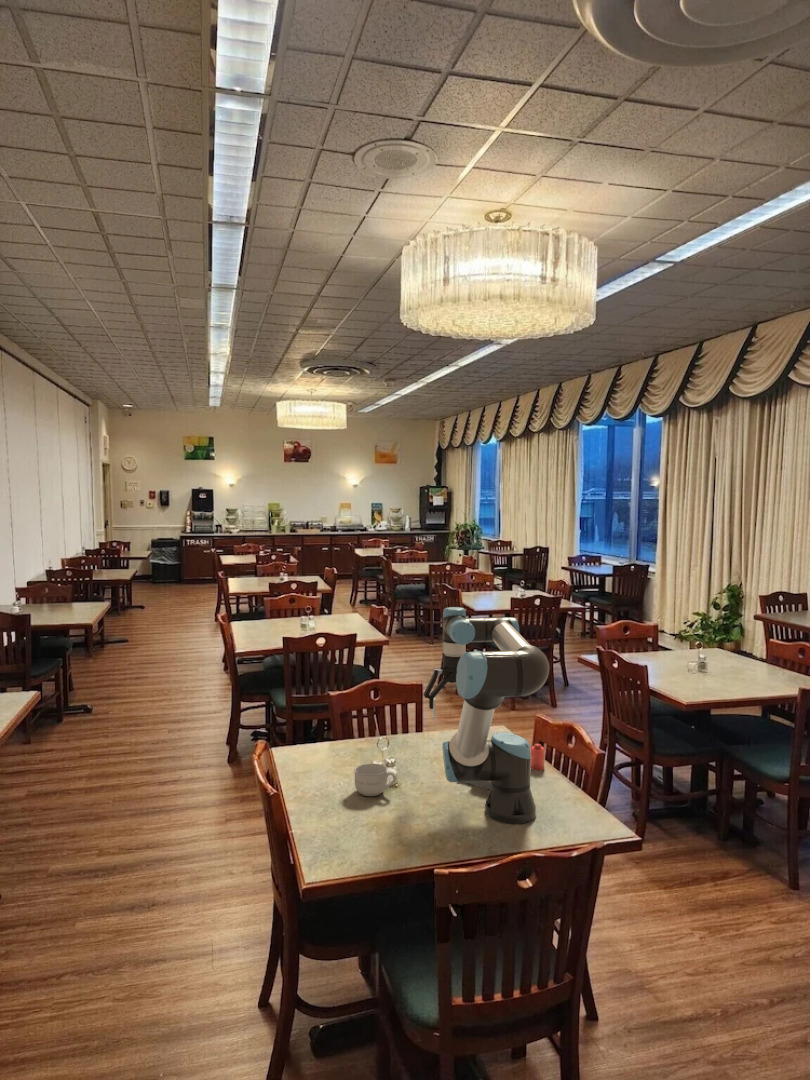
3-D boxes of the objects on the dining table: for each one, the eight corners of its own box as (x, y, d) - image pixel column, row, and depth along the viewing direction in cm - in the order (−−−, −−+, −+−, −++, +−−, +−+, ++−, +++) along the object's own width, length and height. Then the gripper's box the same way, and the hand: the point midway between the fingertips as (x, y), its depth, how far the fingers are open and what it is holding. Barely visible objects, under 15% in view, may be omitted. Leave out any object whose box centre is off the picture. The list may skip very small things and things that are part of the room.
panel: (531, 765, 233) (531, 757, 233) (498, 791, 212) (498, 782, 212) (493, 755, 242) (493, 748, 242) (458, 780, 221) (458, 771, 220)
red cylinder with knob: (546, 766, 232) (546, 744, 231) (541, 771, 228) (541, 748, 227) (533, 763, 235) (534, 741, 234) (528, 768, 231) (528, 745, 230)
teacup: (347, 795, 209) (347, 771, 209) (365, 782, 219) (365, 759, 218) (385, 804, 203) (385, 779, 202) (402, 791, 212) (402, 767, 212)
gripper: (488, 651, 221) (488, 713, 222) (415, 652, 219) (415, 715, 220) (493, 655, 214) (493, 719, 215) (418, 657, 211) (418, 722, 212)
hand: (454, 717), depth 217 cm, fingers open, 13 cm apart
